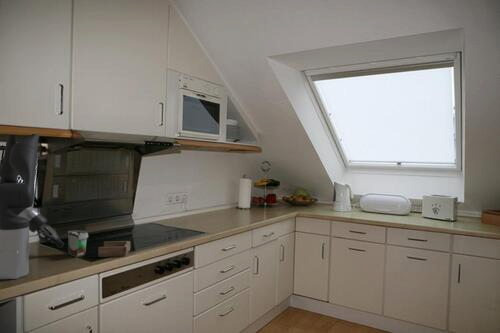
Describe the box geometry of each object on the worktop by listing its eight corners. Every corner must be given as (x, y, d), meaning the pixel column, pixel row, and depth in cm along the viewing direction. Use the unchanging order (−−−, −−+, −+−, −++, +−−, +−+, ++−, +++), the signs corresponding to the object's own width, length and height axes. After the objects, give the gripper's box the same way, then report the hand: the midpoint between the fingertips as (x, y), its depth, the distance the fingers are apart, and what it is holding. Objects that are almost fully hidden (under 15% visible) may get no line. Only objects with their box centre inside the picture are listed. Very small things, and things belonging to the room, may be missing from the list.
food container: (93, 255, 154) (93, 233, 154) (78, 258, 149) (79, 234, 149) (81, 250, 162) (81, 229, 162) (67, 253, 157) (67, 231, 157)
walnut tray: (126, 256, 153) (126, 247, 153) (98, 257, 151) (98, 247, 151) (130, 249, 166) (130, 240, 166) (104, 250, 163) (104, 241, 163)
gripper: (32, 215, 145) (64, 243, 148) (44, 211, 158) (73, 237, 161) (18, 228, 144) (50, 256, 147) (31, 222, 157) (60, 248, 160)
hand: (62, 246), depth 154 cm, fingers closed
